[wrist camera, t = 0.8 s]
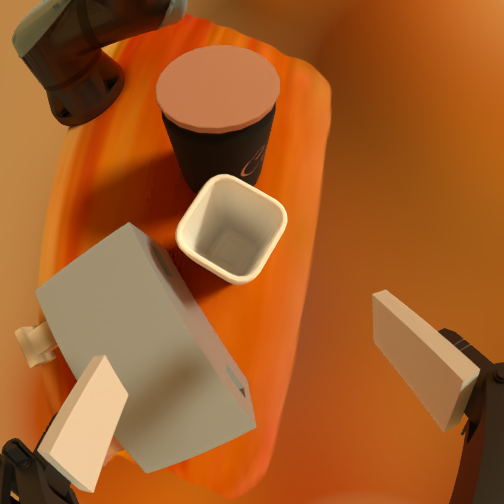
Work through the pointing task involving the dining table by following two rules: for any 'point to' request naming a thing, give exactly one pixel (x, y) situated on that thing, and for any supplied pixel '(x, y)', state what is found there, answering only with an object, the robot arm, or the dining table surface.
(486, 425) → the robot arm
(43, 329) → the pale plunger
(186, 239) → the cup
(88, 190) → the dining table surface
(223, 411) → the wall block
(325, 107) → the dining table surface
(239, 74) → the coffee jar
